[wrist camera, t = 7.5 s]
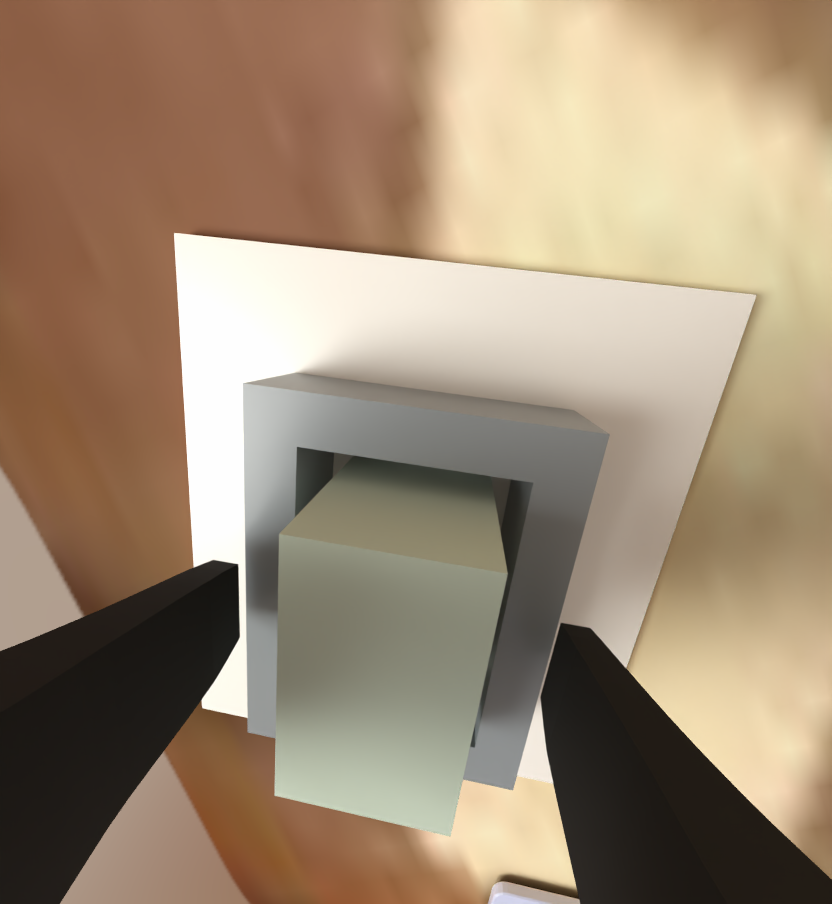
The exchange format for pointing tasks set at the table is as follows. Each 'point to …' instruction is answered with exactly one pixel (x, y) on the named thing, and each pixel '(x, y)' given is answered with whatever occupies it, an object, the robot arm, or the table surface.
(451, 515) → the key block
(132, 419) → the table surface
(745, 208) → the table surface
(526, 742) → the slot holder
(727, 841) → the robot arm
